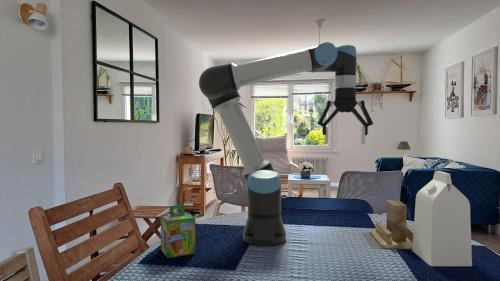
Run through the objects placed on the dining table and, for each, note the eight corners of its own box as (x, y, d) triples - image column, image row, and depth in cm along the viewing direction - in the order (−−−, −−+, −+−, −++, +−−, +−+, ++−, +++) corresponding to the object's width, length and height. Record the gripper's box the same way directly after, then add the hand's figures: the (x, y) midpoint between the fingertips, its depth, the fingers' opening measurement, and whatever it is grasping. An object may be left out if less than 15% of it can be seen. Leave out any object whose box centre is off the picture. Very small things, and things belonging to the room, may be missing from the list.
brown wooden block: (393, 241, 118) (394, 205, 117) (386, 233, 126) (386, 200, 125) (406, 241, 118) (406, 205, 117) (398, 234, 125) (398, 200, 125)
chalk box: (167, 259, 107) (166, 210, 106) (160, 249, 115) (159, 204, 114) (196, 254, 111) (196, 207, 111) (187, 245, 119) (187, 201, 119)
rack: (381, 247, 115) (381, 234, 114) (369, 233, 130) (369, 221, 129) (426, 248, 114) (426, 234, 113) (409, 234, 129) (409, 221, 128)
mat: (372, 249, 114) (372, 248, 114) (360, 233, 130) (360, 232, 130) (436, 250, 113) (436, 249, 113) (417, 234, 129) (417, 233, 129)
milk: (472, 267, 100) (474, 175, 99) (430, 267, 100) (432, 175, 99) (449, 251, 112) (451, 169, 111) (412, 251, 112) (413, 169, 111)
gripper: (376, 88, 137) (375, 143, 138) (311, 88, 139) (310, 143, 140) (382, 86, 129) (381, 144, 131) (313, 86, 131) (312, 144, 132)
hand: (344, 144), depth 135 cm, fingers open, 13 cm apart
